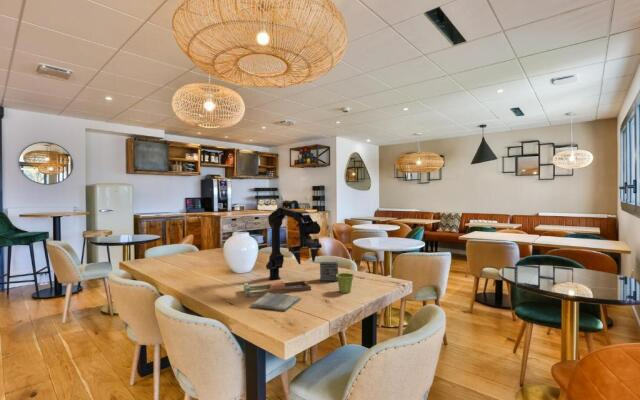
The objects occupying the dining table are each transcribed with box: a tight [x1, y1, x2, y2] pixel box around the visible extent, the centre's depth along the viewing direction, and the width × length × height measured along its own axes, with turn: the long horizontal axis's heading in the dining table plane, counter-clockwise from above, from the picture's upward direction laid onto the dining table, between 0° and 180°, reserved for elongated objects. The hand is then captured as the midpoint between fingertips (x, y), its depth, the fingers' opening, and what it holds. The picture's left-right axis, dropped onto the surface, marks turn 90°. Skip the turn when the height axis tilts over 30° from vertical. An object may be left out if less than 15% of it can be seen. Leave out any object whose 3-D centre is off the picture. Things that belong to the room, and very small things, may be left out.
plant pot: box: [336, 272, 355, 294], centre depth 166 cm, size 9×9×9 cm
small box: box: [319, 261, 339, 283], centre depth 189 cm, size 11×6×10 cm, turn 84°
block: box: [269, 280, 286, 290], centre depth 170 cm, size 7×7×4 cm
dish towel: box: [250, 292, 302, 313], centre depth 150 cm, size 19×18×3 cm
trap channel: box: [243, 280, 312, 298], centre depth 170 cm, size 12×34×4 cm, turn 109°
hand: (306, 263), depth 173 cm, fingers open, 9 cm apart
